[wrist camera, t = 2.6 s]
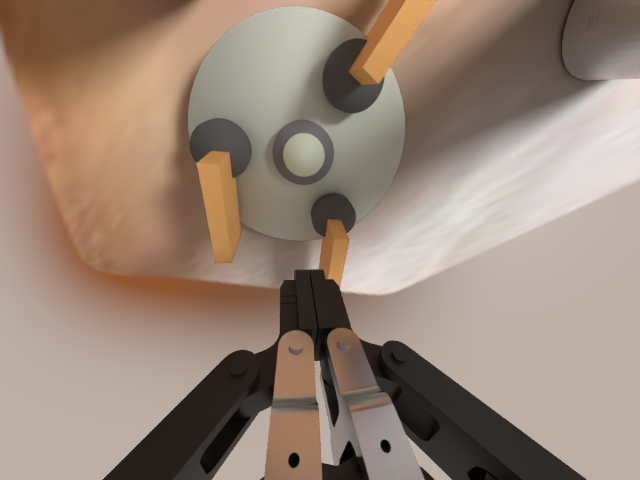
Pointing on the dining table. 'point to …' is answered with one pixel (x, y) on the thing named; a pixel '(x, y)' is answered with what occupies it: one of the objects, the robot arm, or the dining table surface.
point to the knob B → (333, 232)
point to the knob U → (371, 56)
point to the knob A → (221, 180)
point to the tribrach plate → (297, 120)
